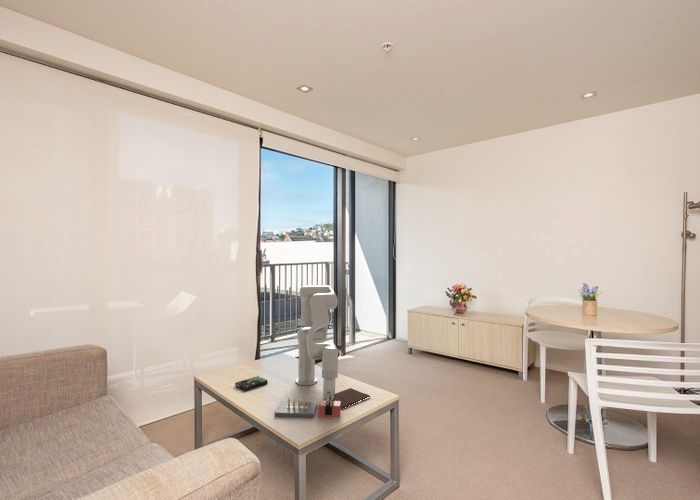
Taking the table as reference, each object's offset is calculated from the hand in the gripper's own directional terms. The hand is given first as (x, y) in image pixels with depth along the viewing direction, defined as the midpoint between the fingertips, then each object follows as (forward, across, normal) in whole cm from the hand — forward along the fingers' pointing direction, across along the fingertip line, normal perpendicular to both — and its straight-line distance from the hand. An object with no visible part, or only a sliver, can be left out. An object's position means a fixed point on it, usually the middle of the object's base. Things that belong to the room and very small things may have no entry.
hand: (329, 410), depth 164 cm
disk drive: (+2, -32, -48) cm, 58 cm away
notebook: (+3, -18, +7) cm, 20 cm away
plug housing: (+2, 0, 0) cm, 2 cm away
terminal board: (+2, -2, -16) cm, 16 cm away
